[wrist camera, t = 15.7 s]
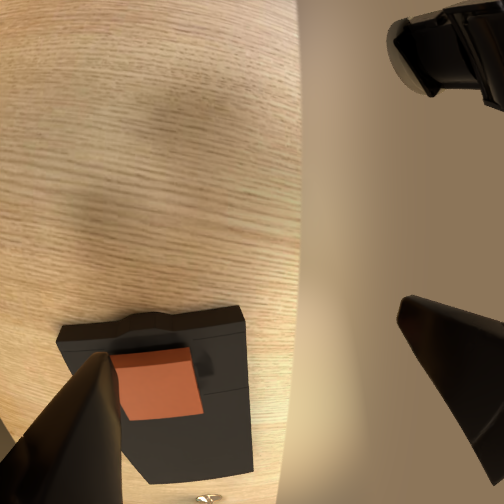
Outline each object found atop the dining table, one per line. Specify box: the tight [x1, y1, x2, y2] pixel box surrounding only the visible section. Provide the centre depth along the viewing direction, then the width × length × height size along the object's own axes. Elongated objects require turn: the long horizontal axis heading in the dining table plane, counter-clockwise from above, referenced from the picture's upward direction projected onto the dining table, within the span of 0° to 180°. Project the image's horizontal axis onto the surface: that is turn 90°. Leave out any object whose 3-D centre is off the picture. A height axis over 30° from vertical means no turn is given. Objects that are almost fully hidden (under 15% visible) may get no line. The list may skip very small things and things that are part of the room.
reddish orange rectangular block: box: [110, 347, 204, 420], centre depth 20 cm, size 6×6×4 cm
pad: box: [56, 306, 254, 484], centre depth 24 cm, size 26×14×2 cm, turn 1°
